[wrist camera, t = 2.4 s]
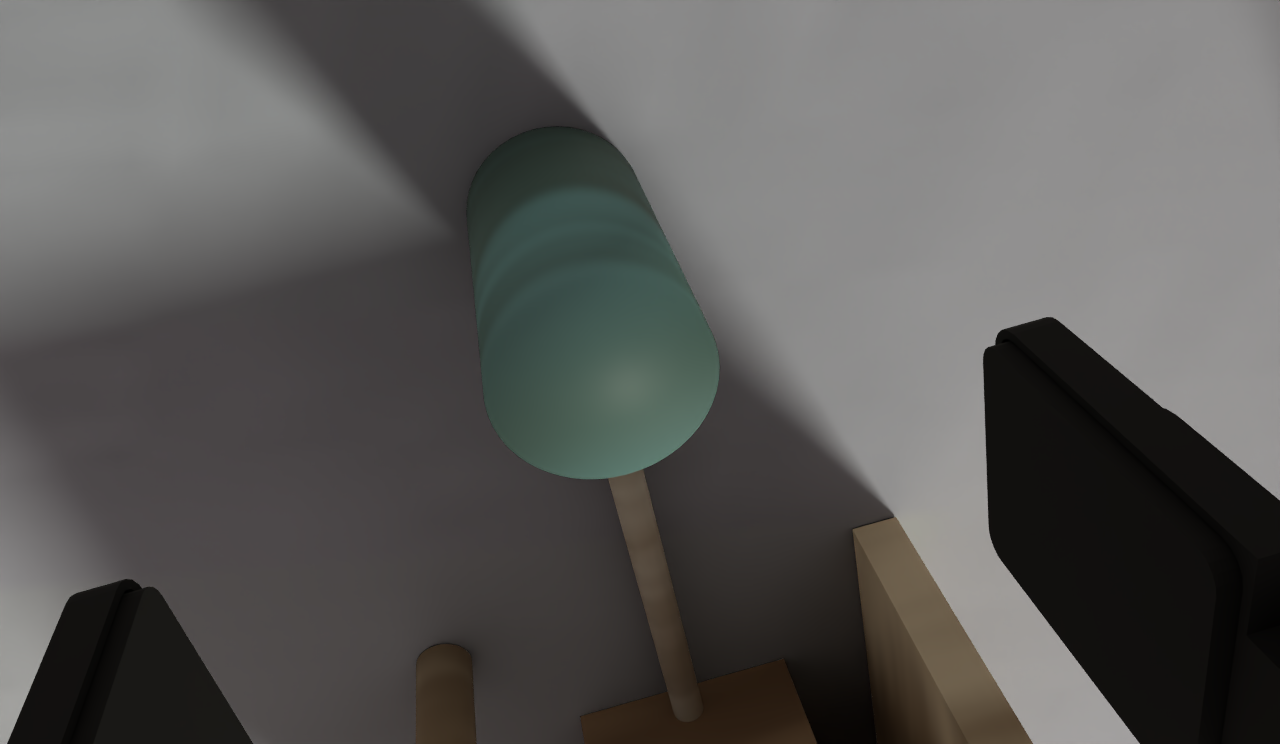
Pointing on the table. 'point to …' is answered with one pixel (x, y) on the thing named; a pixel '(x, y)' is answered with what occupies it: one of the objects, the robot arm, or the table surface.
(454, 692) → the box
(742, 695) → the tethered block
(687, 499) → the table surface
